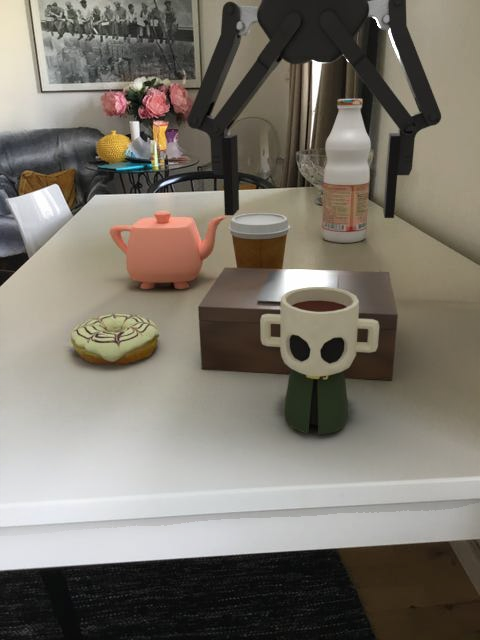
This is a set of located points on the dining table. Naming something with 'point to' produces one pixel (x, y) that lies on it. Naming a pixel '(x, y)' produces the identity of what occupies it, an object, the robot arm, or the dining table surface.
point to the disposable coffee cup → (259, 240)
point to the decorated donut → (115, 338)
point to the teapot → (165, 249)
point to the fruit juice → (346, 176)
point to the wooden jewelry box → (265, 298)
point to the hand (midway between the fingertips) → (308, 213)
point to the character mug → (318, 353)
